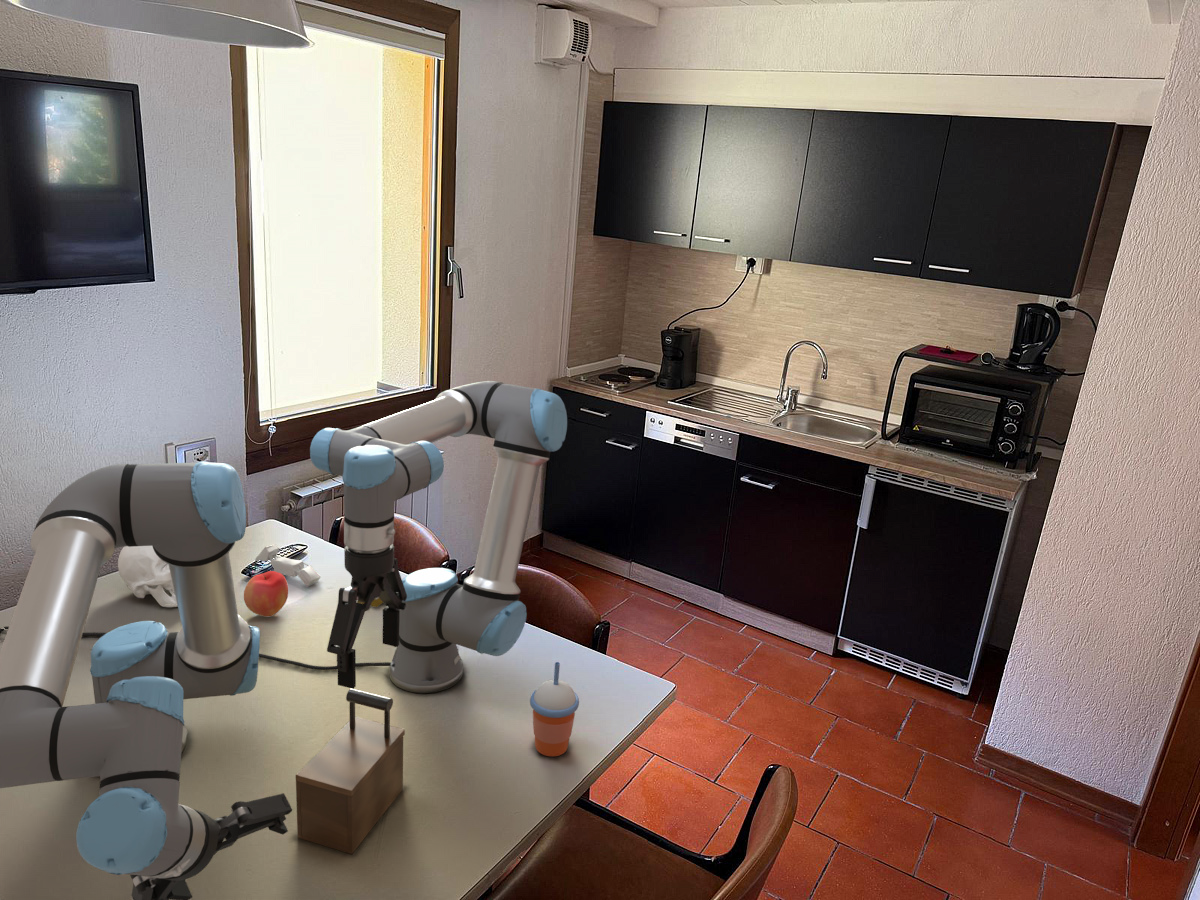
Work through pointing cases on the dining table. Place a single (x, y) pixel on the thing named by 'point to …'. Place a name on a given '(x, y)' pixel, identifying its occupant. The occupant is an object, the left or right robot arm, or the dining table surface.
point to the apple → (266, 593)
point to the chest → (349, 806)
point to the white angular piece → (288, 565)
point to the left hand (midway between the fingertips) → (234, 856)
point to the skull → (146, 574)
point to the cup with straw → (553, 715)
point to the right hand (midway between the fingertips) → (369, 664)
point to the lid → (353, 748)
